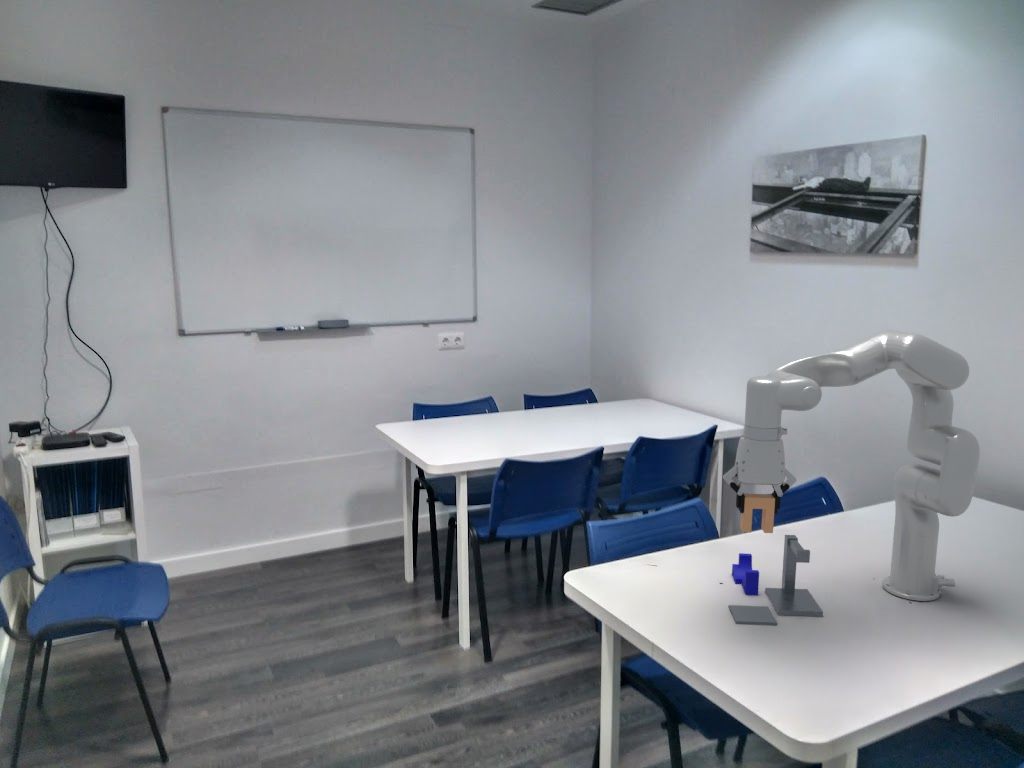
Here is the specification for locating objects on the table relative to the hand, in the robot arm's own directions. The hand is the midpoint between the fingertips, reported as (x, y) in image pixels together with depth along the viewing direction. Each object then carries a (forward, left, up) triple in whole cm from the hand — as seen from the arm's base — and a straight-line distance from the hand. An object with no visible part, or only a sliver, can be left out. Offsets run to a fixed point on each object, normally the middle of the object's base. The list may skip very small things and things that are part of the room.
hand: (757, 510), depth 169 cm
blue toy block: (-2, -17, -25) cm, 31 cm away
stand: (-11, -7, -25) cm, 28 cm away
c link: (0, 0, -5) cm, 5 cm away
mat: (0, 0, -25) cm, 25 cm away
